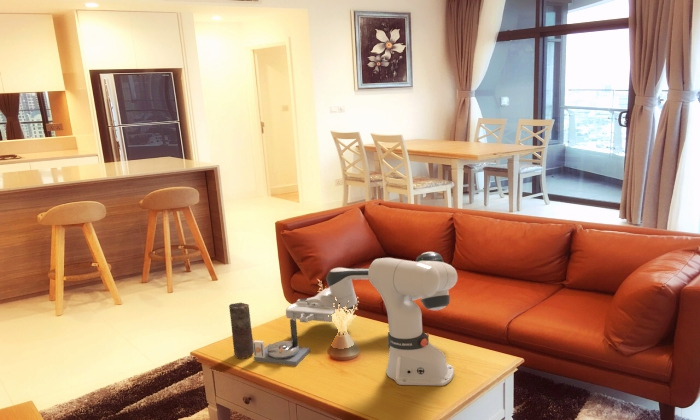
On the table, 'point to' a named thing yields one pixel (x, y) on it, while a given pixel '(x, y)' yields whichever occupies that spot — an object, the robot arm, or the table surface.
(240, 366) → the table surface
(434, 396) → the table surface
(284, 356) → the grey disc with rod
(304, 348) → the stand
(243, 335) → the candle
